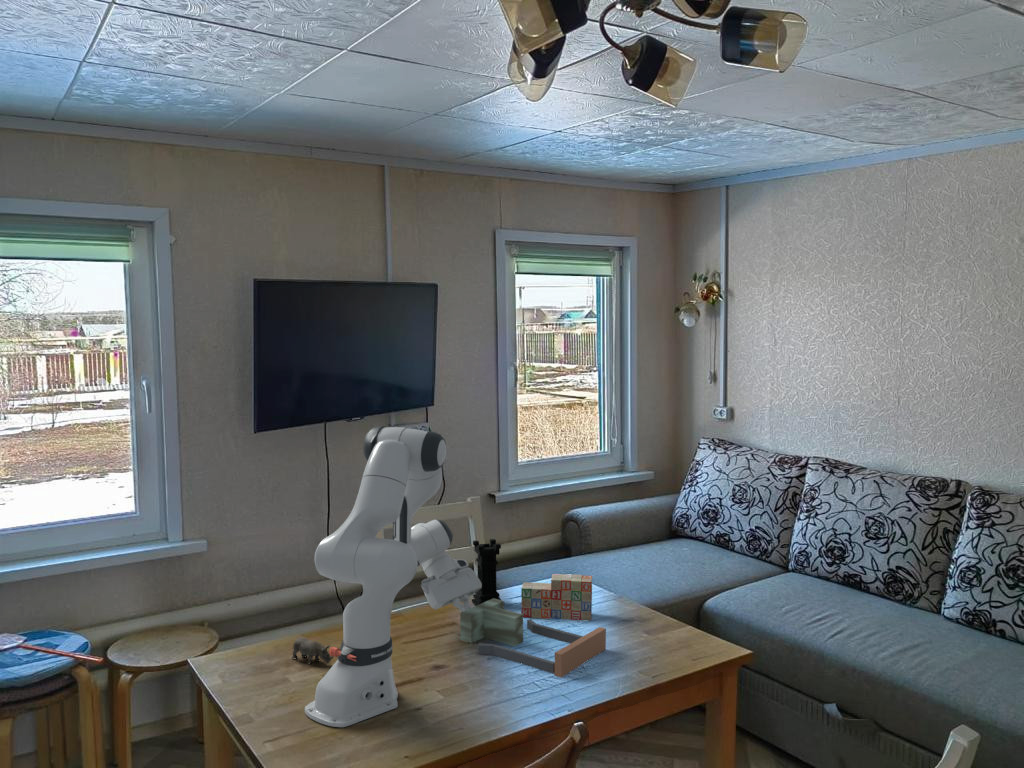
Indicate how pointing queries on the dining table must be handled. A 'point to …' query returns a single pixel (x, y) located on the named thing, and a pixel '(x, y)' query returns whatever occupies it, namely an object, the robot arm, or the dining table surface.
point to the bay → (564, 658)
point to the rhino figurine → (311, 650)
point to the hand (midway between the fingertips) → (467, 611)
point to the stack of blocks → (558, 598)
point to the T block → (492, 623)
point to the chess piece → (486, 571)
